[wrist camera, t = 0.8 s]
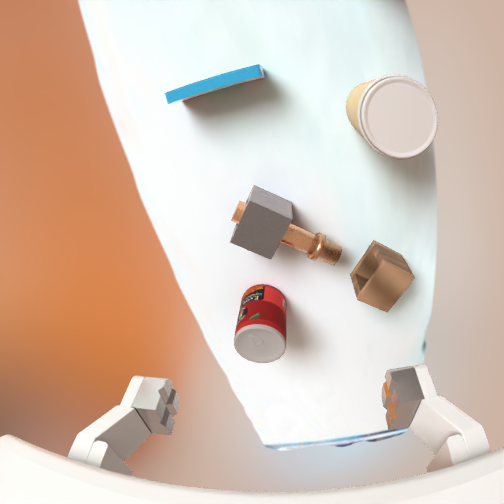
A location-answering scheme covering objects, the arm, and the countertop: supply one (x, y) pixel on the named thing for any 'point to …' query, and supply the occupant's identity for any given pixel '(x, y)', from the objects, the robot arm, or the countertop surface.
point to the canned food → (261, 324)
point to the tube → (303, 240)
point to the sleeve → (263, 222)
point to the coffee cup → (393, 115)
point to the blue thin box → (215, 83)
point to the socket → (381, 277)
